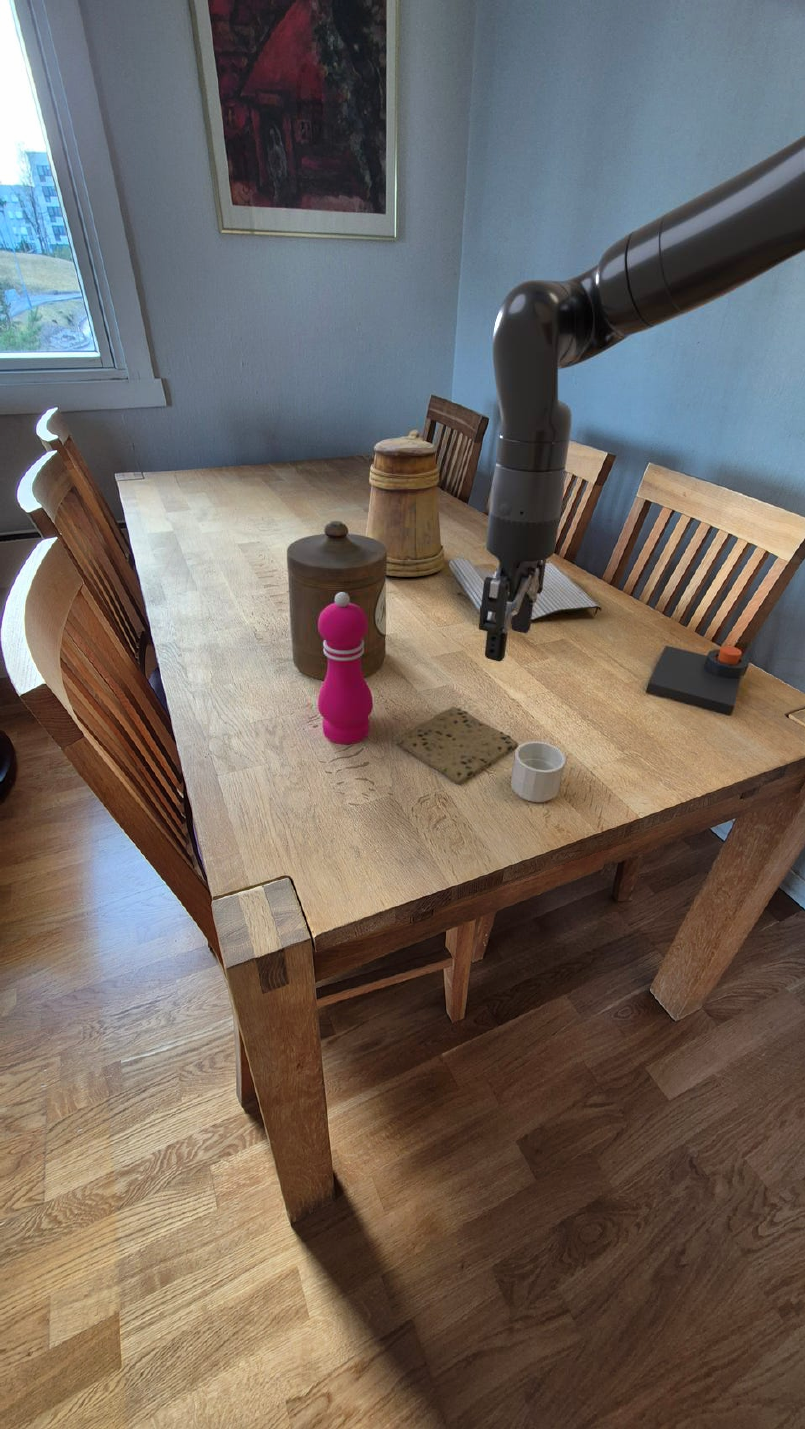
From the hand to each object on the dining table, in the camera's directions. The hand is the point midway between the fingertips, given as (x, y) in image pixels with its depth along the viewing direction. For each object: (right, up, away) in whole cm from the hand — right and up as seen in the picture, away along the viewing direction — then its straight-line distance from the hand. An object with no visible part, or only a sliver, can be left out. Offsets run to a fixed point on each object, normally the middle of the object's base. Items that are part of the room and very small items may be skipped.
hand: (507, 644), depth 76 cm
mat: (+10, +14, +47) cm, 51 cm away
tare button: (+38, 0, +22) cm, 44 cm away
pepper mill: (-20, -11, +9) cm, 25 cm away
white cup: (+3, -18, 0) cm, 18 cm away
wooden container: (-23, 0, +25) cm, 34 cm away
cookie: (-6, -13, +7) cm, 16 cm away
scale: (+33, -4, +22) cm, 40 cm away
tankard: (-12, +25, +62) cm, 69 cm away
